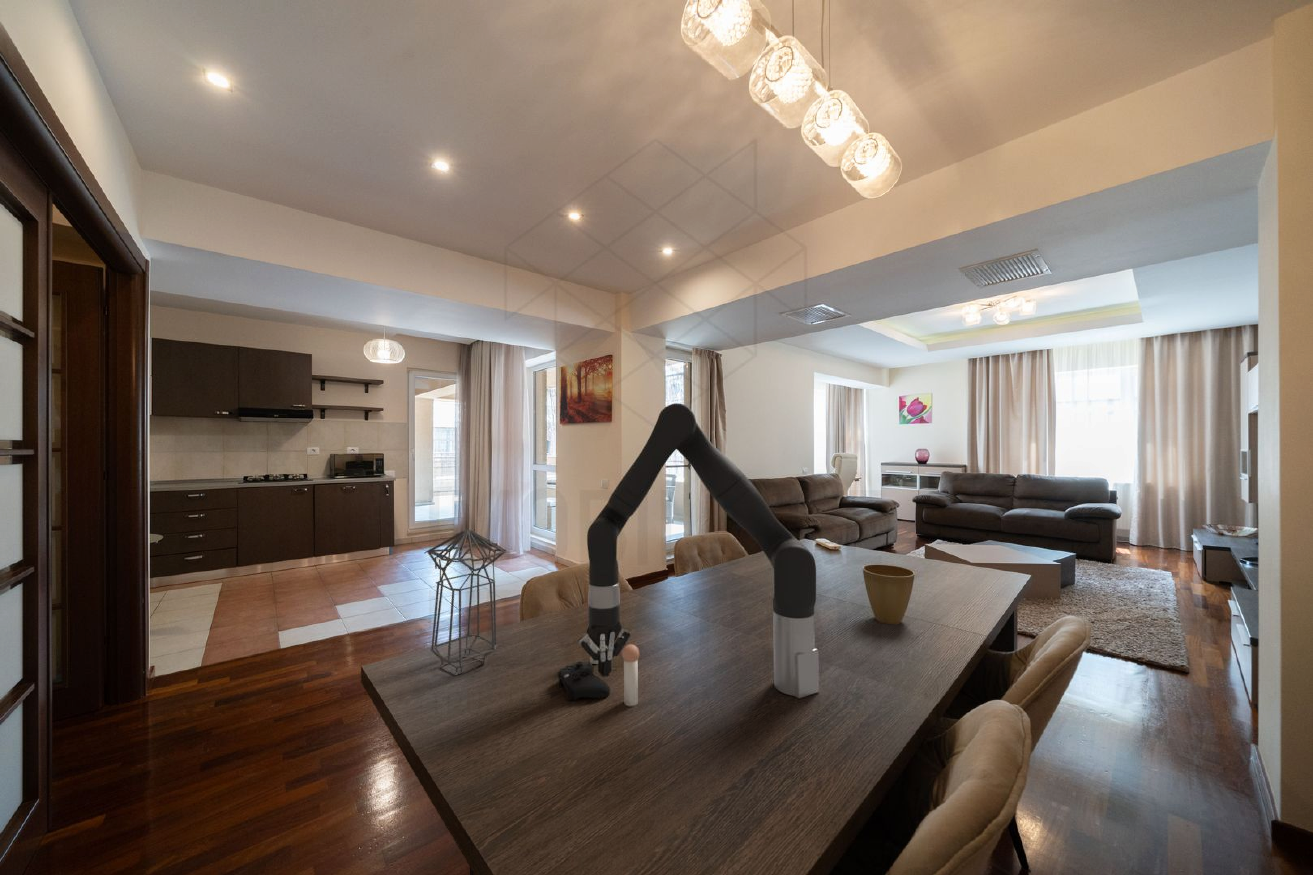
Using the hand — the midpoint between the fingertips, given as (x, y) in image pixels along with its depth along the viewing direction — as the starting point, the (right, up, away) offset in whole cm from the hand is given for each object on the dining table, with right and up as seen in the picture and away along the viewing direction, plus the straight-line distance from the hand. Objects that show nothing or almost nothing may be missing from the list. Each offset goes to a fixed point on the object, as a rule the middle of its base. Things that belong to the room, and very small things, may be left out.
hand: (604, 675), depth 113 cm
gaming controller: (-5, -2, -3) cm, 6 cm away
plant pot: (+86, -2, +38) cm, 94 cm away
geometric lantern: (-37, -2, +9) cm, 38 cm away
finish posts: (+2, -2, +1) cm, 2 cm away
